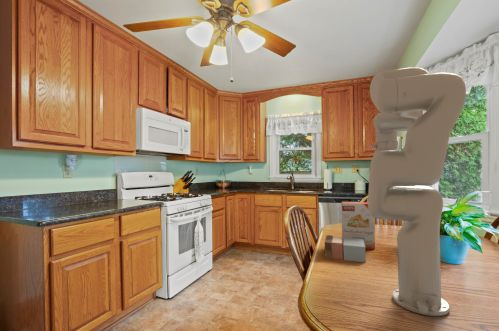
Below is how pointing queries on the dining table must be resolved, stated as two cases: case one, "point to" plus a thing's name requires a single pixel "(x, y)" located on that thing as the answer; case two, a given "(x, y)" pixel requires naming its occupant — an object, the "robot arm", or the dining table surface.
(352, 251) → the slate block
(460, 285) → the dining table surface
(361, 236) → the cracker box
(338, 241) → the pink rectangular block
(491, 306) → the dining table surface
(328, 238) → the bookend
